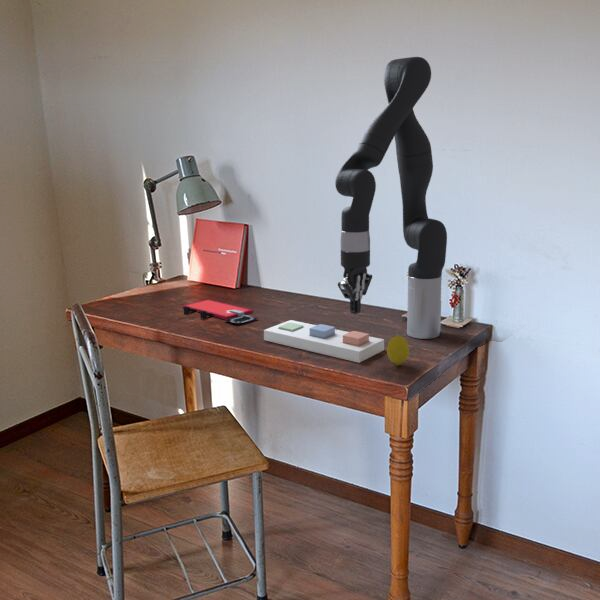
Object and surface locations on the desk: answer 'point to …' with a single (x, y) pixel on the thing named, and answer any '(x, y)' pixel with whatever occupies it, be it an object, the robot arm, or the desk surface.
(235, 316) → the red board with handle
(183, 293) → the desk surface
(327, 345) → the button panel
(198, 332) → the desk surface
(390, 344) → the lemon
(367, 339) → the terracotta button
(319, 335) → the slate button
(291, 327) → the sage button
